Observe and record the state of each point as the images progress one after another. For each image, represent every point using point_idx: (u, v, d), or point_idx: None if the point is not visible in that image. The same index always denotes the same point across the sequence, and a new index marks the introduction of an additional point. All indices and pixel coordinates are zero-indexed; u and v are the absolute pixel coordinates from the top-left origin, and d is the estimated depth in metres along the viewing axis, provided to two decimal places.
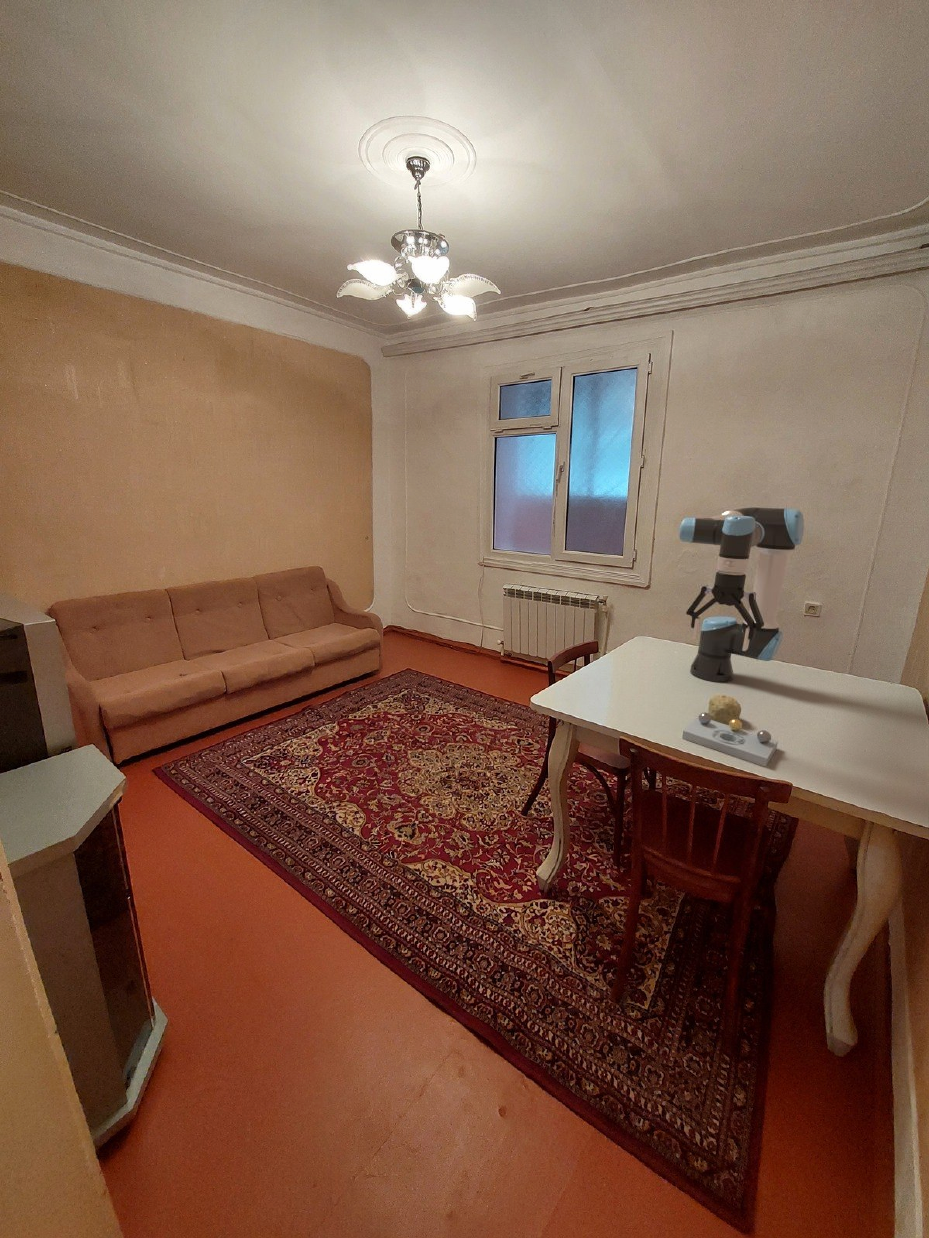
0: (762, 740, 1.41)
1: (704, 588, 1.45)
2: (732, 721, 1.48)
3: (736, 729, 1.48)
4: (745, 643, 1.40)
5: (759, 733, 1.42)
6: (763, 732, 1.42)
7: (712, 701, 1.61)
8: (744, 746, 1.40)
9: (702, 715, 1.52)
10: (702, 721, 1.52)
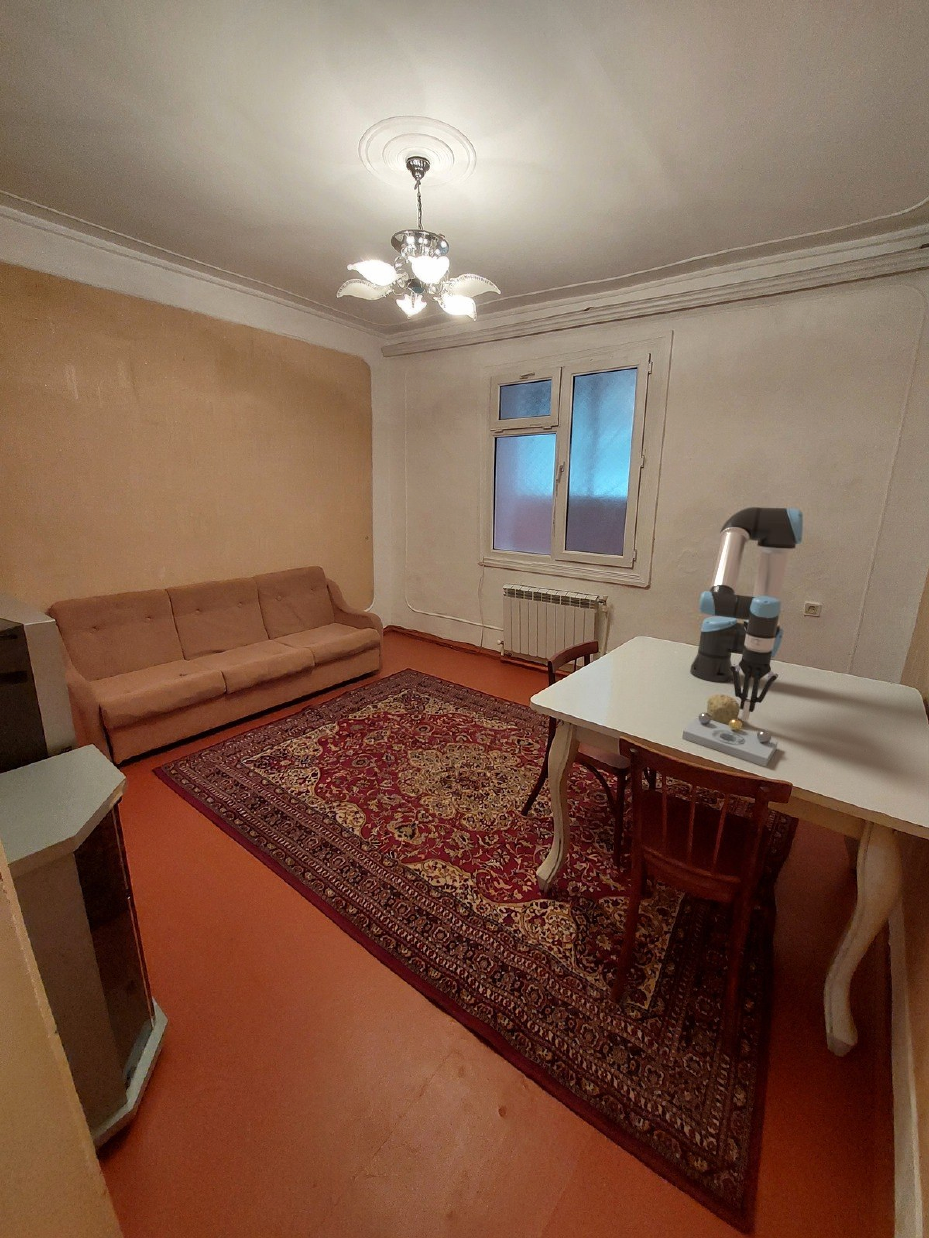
0: (762, 740, 1.41)
1: (732, 667, 1.56)
2: (732, 721, 1.48)
3: (736, 729, 1.48)
4: (746, 715, 1.56)
5: (759, 733, 1.42)
6: (763, 732, 1.42)
7: (711, 700, 1.61)
8: (744, 746, 1.40)
9: (702, 715, 1.52)
10: (702, 721, 1.52)
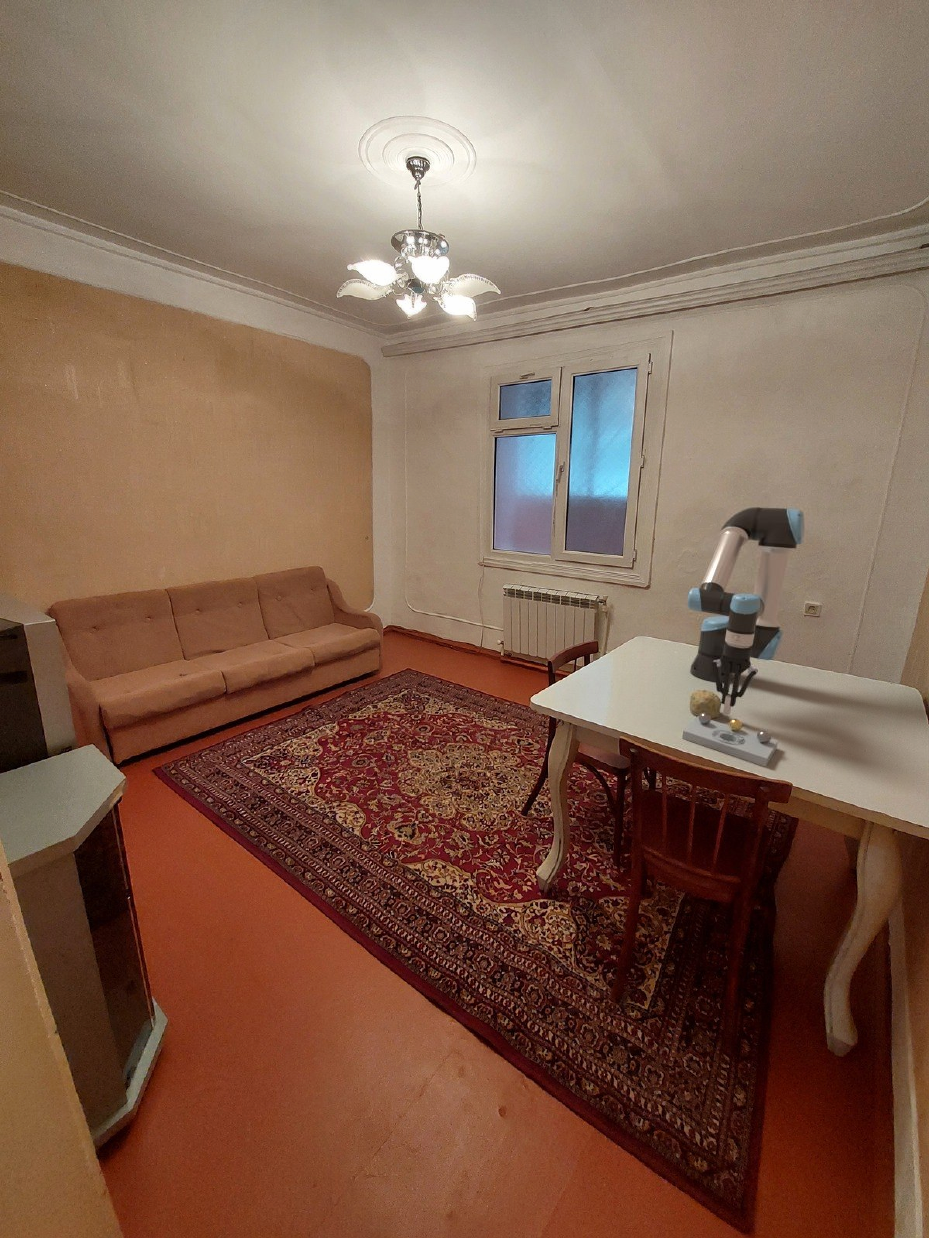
0: (762, 740, 1.41)
1: (714, 663, 1.59)
2: (732, 721, 1.48)
3: (736, 729, 1.48)
4: (727, 709, 1.59)
5: (759, 733, 1.42)
6: (763, 732, 1.42)
7: (693, 695, 1.65)
8: (744, 746, 1.40)
9: (702, 715, 1.52)
10: (702, 721, 1.52)
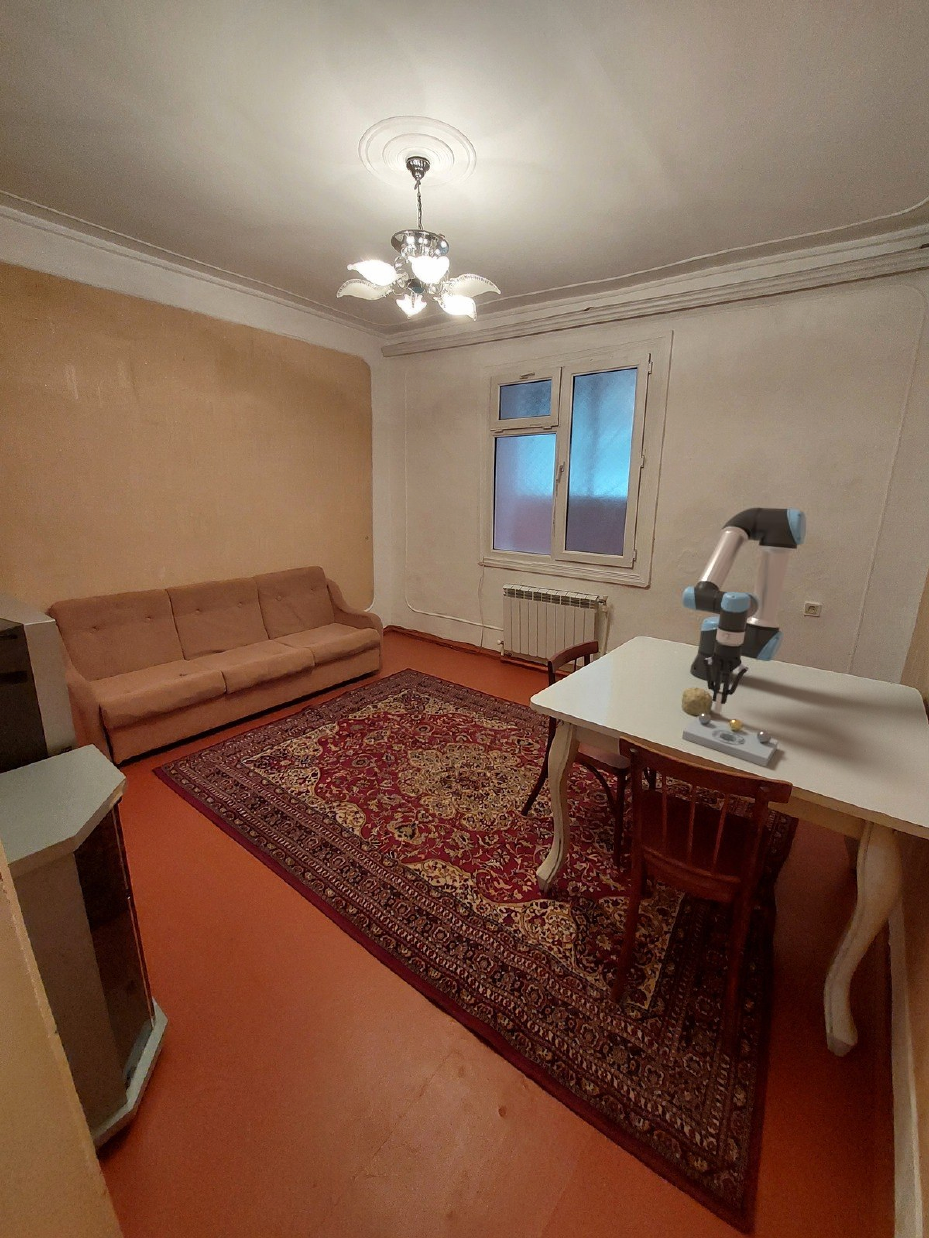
0: (762, 740, 1.41)
1: (705, 661, 1.61)
2: (732, 721, 1.48)
3: (736, 729, 1.48)
4: (718, 707, 1.61)
5: (759, 733, 1.42)
6: (763, 732, 1.42)
7: (685, 693, 1.67)
8: (744, 746, 1.40)
9: (702, 715, 1.52)
10: (702, 721, 1.52)
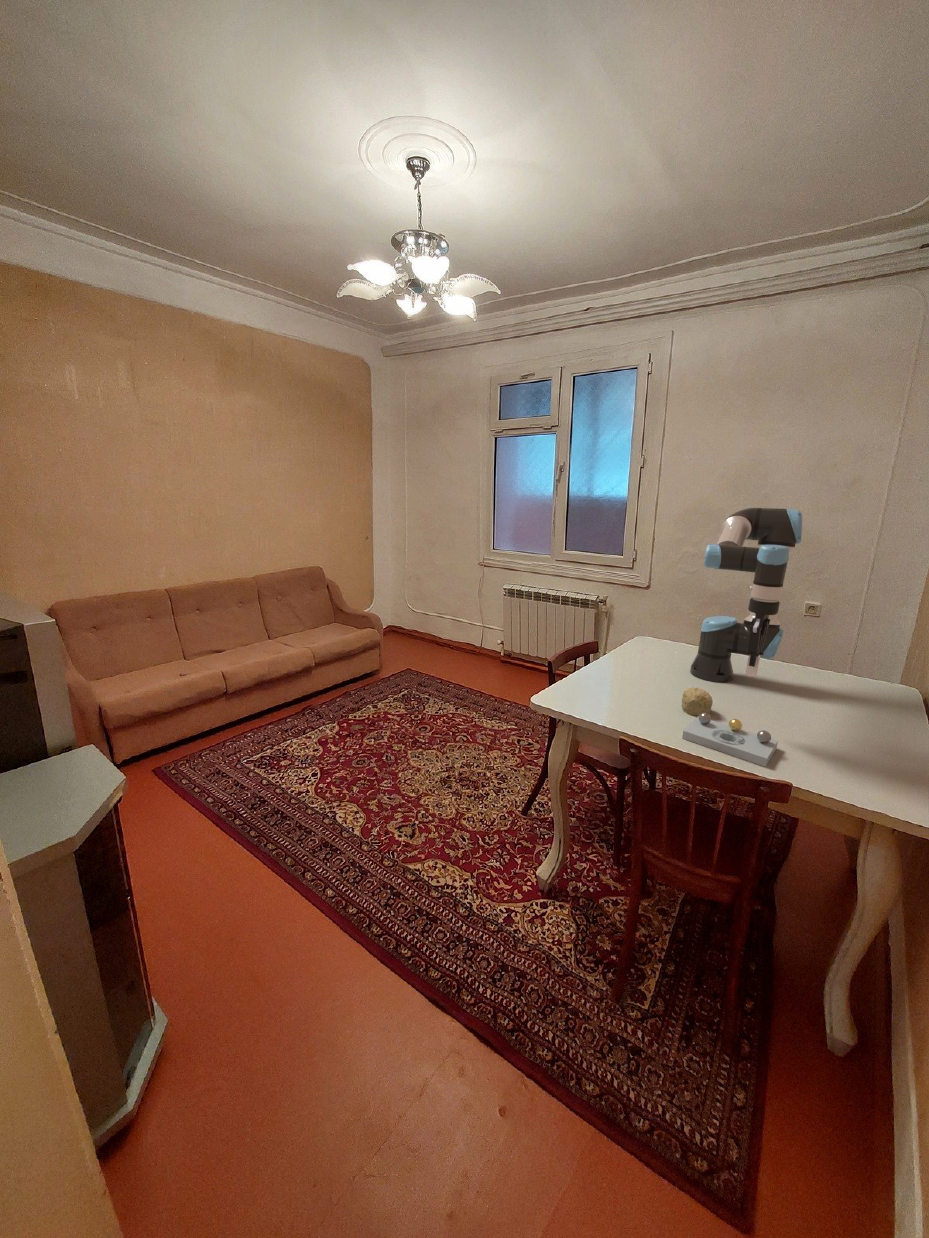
0: (762, 740, 1.41)
1: None
2: (732, 721, 1.48)
3: (736, 729, 1.48)
4: None
5: (759, 733, 1.42)
6: (763, 732, 1.42)
7: (685, 693, 1.67)
8: (744, 746, 1.40)
9: (702, 715, 1.52)
10: (702, 721, 1.52)
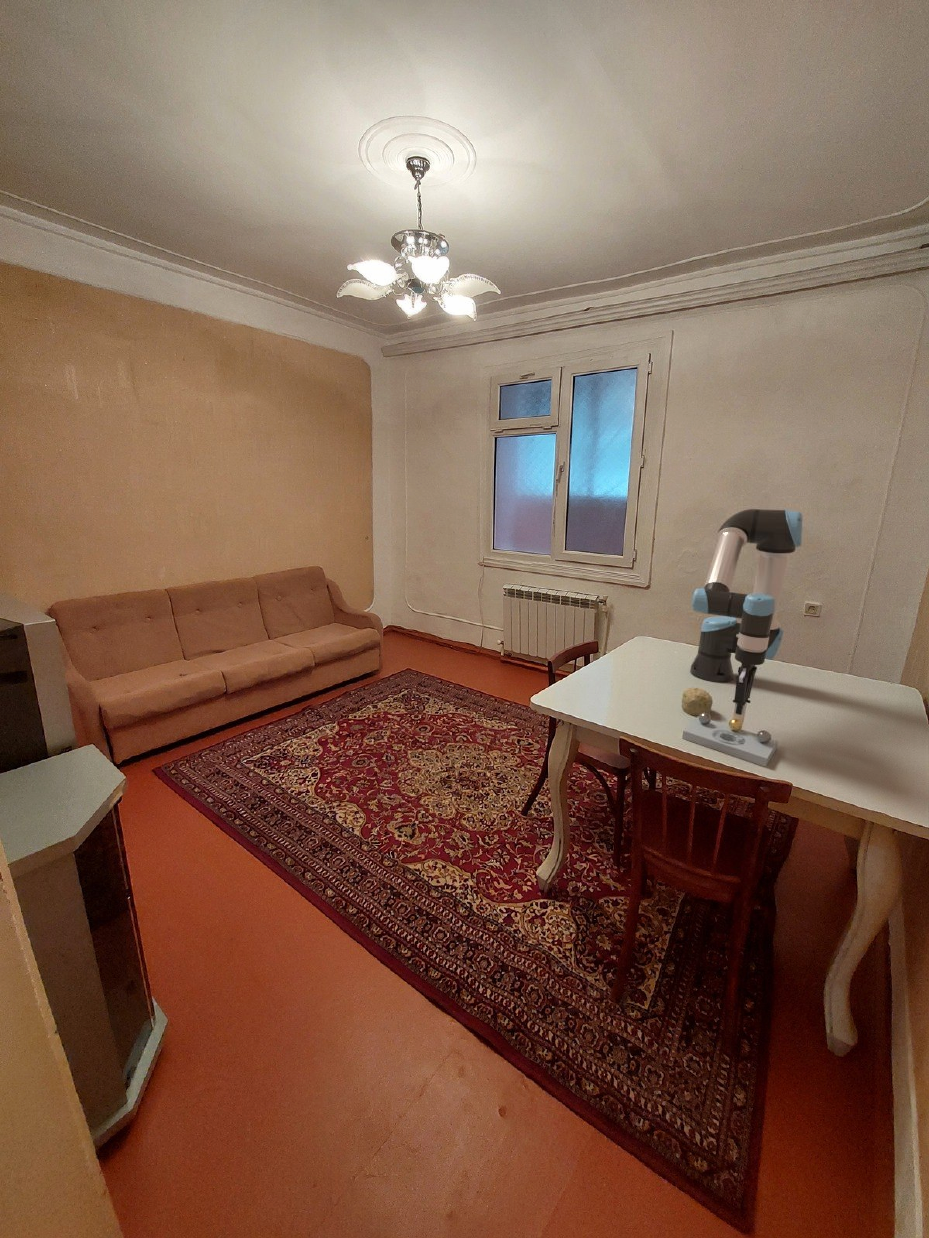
0: (762, 740, 1.41)
1: None
2: (732, 721, 1.48)
3: (736, 729, 1.48)
4: (733, 715, 1.51)
5: (759, 733, 1.42)
6: (763, 732, 1.42)
7: (685, 693, 1.67)
8: (744, 746, 1.40)
9: (702, 715, 1.52)
10: (702, 721, 1.52)
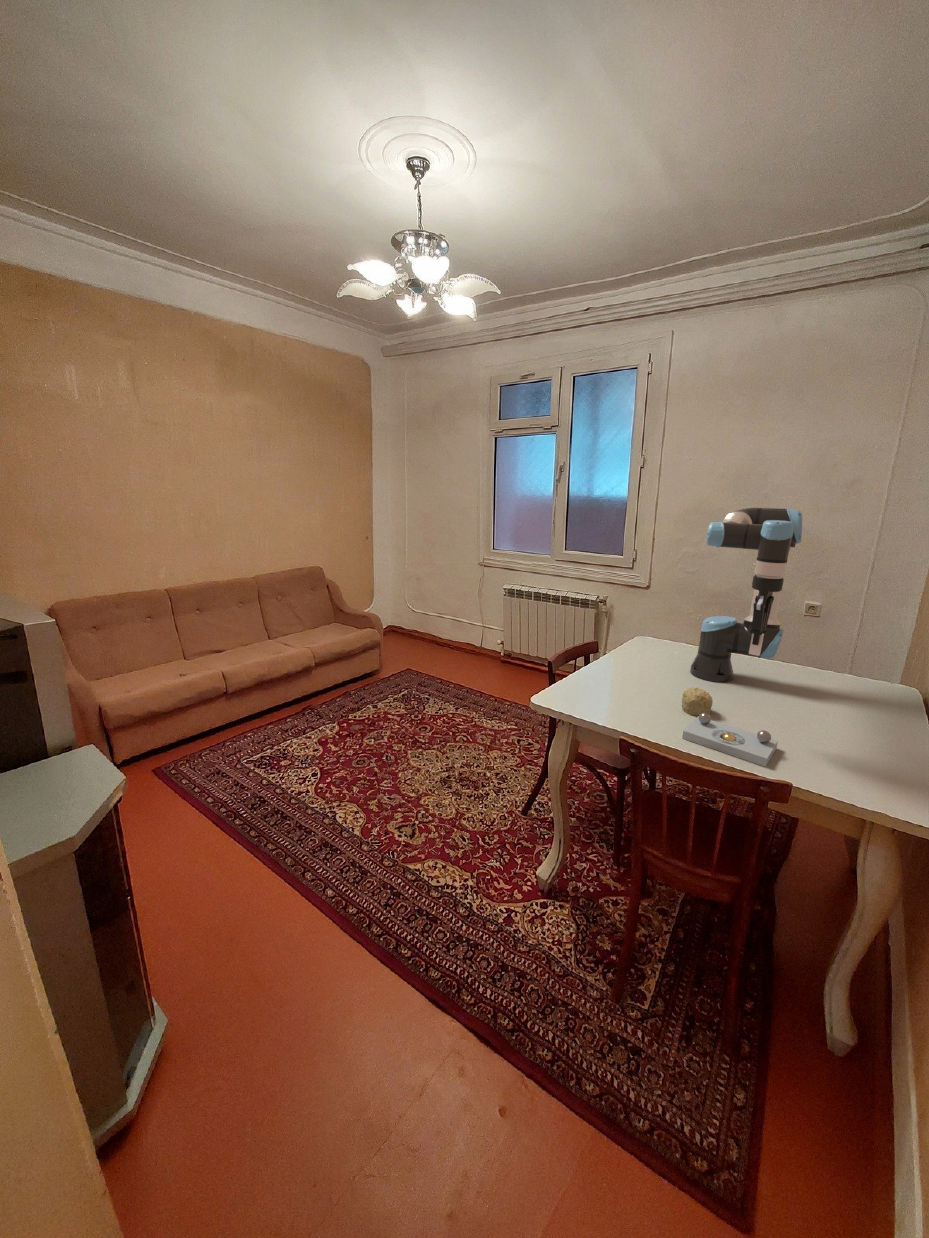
0: (762, 740, 1.41)
1: None
2: None
3: (732, 735, 1.45)
4: (750, 646, 1.49)
5: (759, 733, 1.42)
6: (763, 732, 1.42)
7: (685, 693, 1.67)
8: (744, 746, 1.40)
9: (702, 715, 1.52)
10: (702, 721, 1.52)
